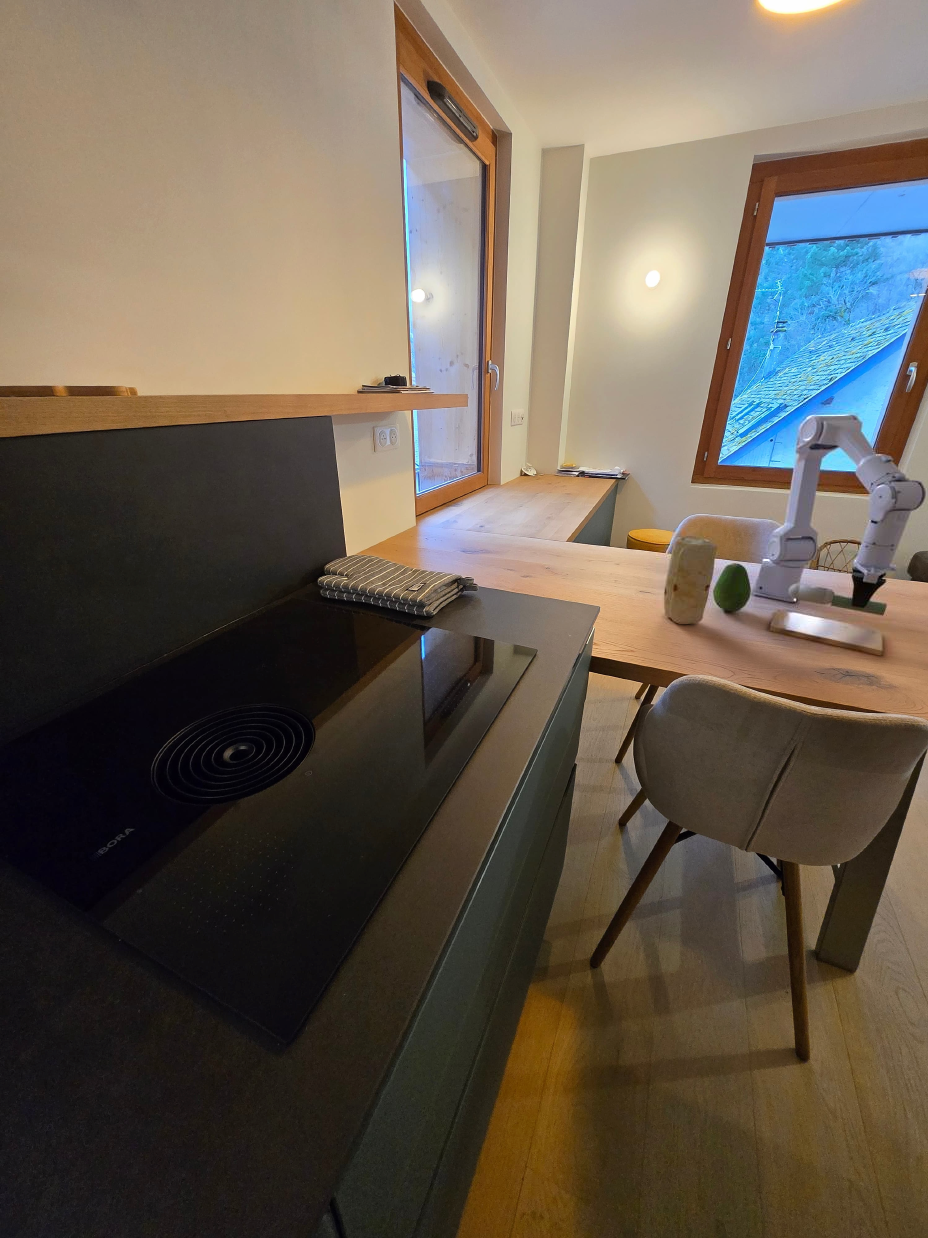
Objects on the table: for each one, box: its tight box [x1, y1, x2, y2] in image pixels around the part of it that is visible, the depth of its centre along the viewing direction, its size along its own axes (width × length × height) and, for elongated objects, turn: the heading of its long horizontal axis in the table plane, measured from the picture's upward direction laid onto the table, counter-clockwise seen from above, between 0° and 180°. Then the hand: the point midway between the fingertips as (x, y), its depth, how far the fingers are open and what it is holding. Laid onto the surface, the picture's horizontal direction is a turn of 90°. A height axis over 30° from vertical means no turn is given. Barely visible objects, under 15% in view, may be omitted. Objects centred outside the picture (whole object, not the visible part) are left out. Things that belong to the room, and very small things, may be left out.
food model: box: [663, 535, 718, 625], centre depth 113 cm, size 10×7×20 cm
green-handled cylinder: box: [789, 582, 888, 616], centre depth 107 cm, size 17×4×4 cm, turn 53°
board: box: [769, 608, 883, 656], centre depth 110 cm, size 20×11×1 cm, turn 53°
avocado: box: [712, 562, 752, 612], centre depth 119 cm, size 8×8×12 cm
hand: (857, 604), depth 105 cm, fingers closed on green-handled cylinder, 2 cm apart
